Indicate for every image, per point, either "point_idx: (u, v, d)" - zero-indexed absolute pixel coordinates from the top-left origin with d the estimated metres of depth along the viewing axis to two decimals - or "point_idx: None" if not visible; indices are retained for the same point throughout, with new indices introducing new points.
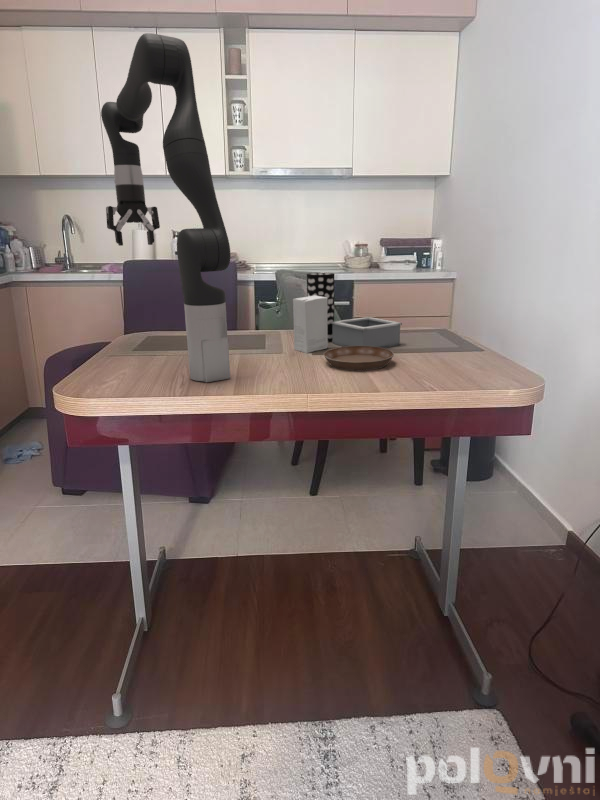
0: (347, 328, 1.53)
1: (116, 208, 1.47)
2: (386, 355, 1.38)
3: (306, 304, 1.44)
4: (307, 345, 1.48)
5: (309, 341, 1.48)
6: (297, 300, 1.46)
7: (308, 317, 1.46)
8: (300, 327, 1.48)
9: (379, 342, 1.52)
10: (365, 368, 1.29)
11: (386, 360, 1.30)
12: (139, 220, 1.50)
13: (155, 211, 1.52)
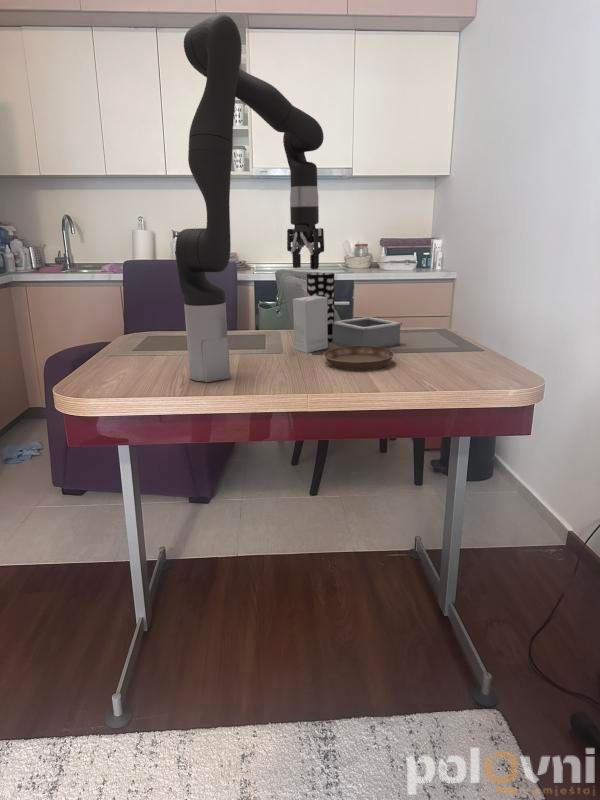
0: (347, 328, 1.53)
1: None
2: (386, 355, 1.38)
3: (306, 304, 1.44)
4: (307, 345, 1.48)
5: (309, 341, 1.48)
6: (297, 300, 1.46)
7: (308, 317, 1.46)
8: (300, 327, 1.48)
9: (379, 342, 1.52)
10: (365, 368, 1.29)
11: (386, 360, 1.30)
12: None
13: None
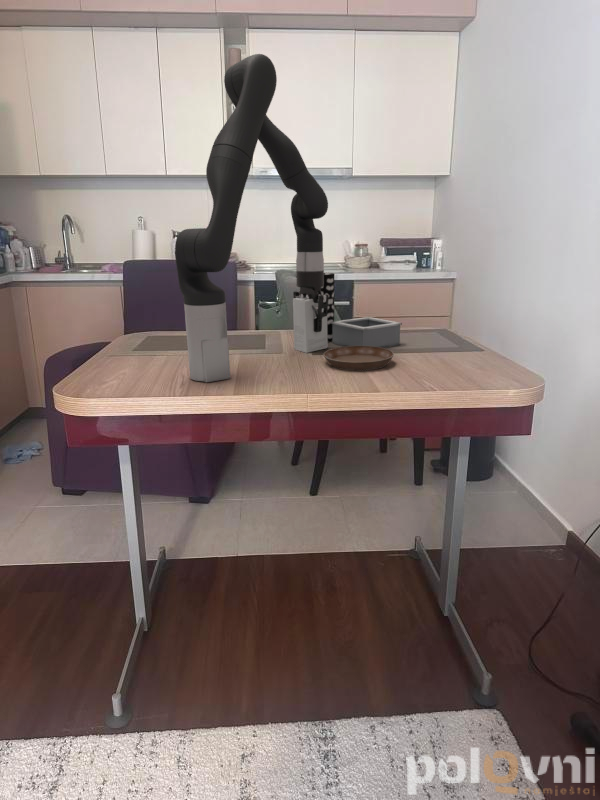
0: (347, 328, 1.53)
1: None
2: (386, 355, 1.38)
3: (306, 304, 1.44)
4: (307, 345, 1.48)
5: (309, 341, 1.48)
6: (297, 300, 1.46)
7: (308, 317, 1.46)
8: (300, 327, 1.48)
9: (379, 342, 1.52)
10: (365, 368, 1.29)
11: (386, 360, 1.30)
12: None
13: None
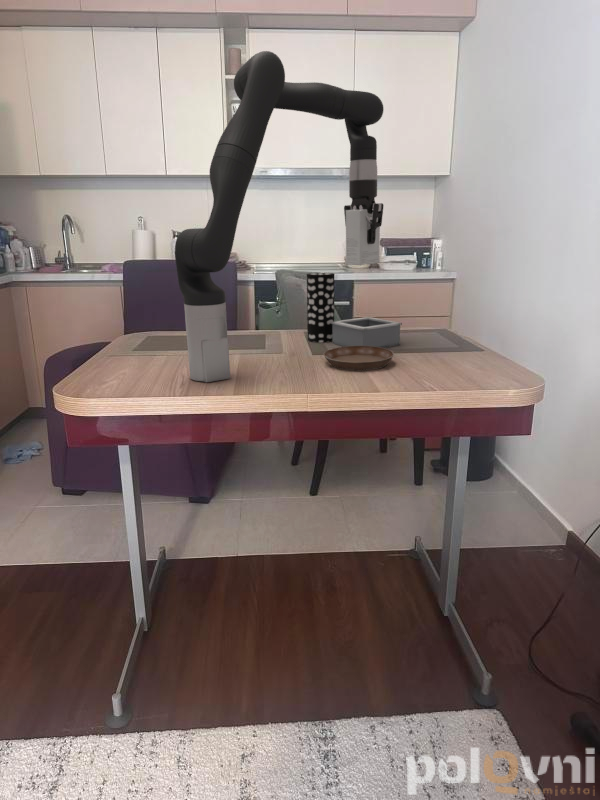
0: (347, 328, 1.53)
1: None
2: (386, 355, 1.38)
3: (360, 213, 1.43)
4: (360, 257, 1.47)
5: (363, 253, 1.47)
6: (350, 211, 1.45)
7: (362, 228, 1.45)
8: (353, 239, 1.47)
9: (379, 342, 1.52)
10: (365, 368, 1.29)
11: (386, 360, 1.30)
12: None
13: None
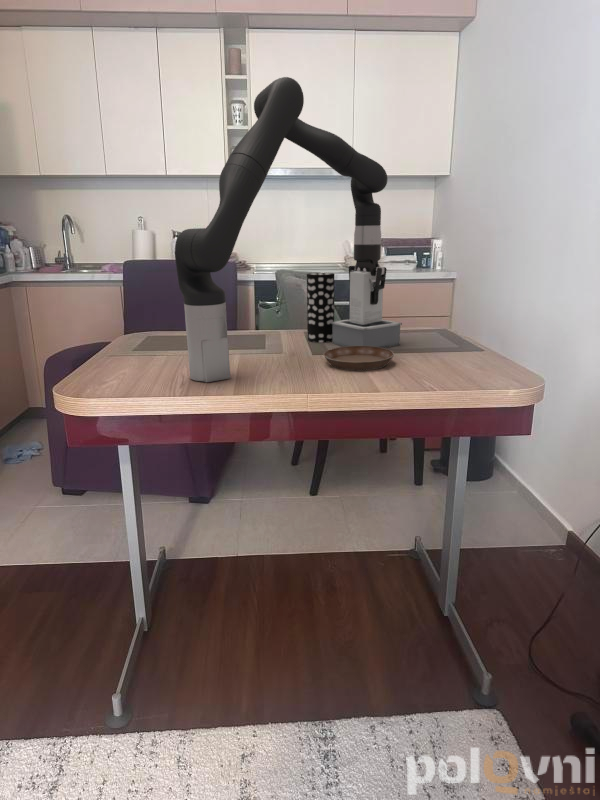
0: (347, 328, 1.53)
1: None
2: (386, 355, 1.38)
3: (364, 276, 1.48)
4: (364, 317, 1.52)
5: (366, 313, 1.52)
6: (355, 273, 1.50)
7: (366, 290, 1.50)
8: (357, 300, 1.52)
9: (379, 342, 1.52)
10: (365, 368, 1.29)
11: (386, 360, 1.30)
12: None
13: None
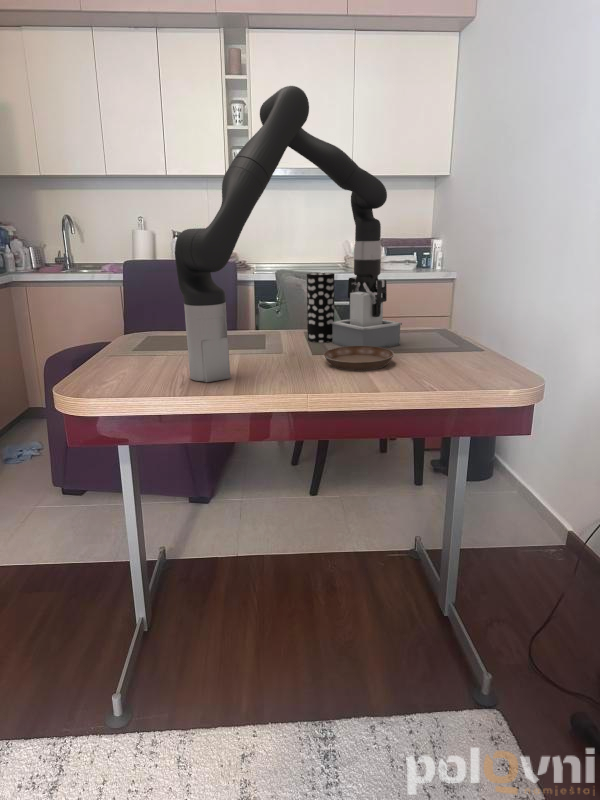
0: (347, 328, 1.53)
1: None
2: (386, 355, 1.38)
3: (364, 298, 1.50)
4: None
5: None
6: (354, 294, 1.52)
7: (365, 311, 1.51)
8: (357, 320, 1.53)
9: (379, 342, 1.52)
10: (365, 368, 1.29)
11: (386, 360, 1.30)
12: None
13: None
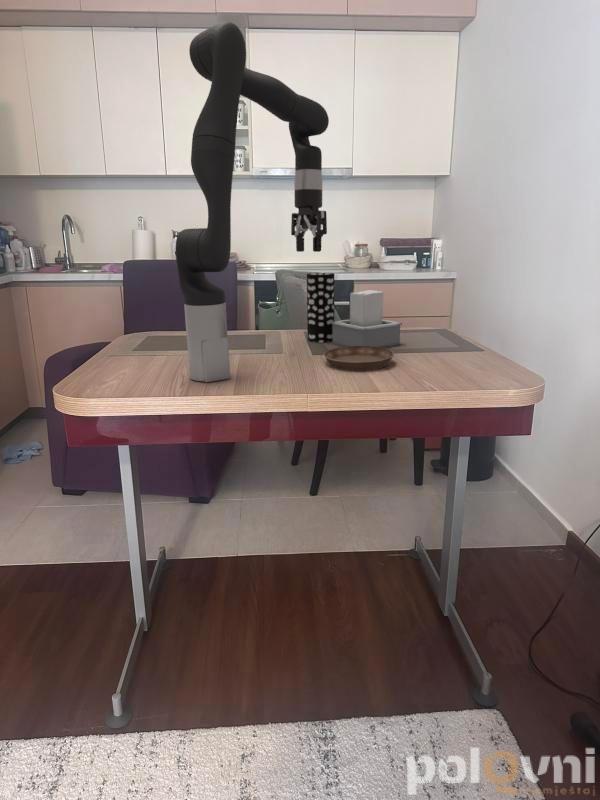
0: (347, 328, 1.53)
1: None
2: (386, 355, 1.38)
3: (364, 298, 1.50)
4: None
5: None
6: (354, 294, 1.52)
7: (365, 311, 1.51)
8: (357, 320, 1.53)
9: (379, 342, 1.52)
10: (365, 368, 1.29)
11: (386, 360, 1.30)
12: None
13: None
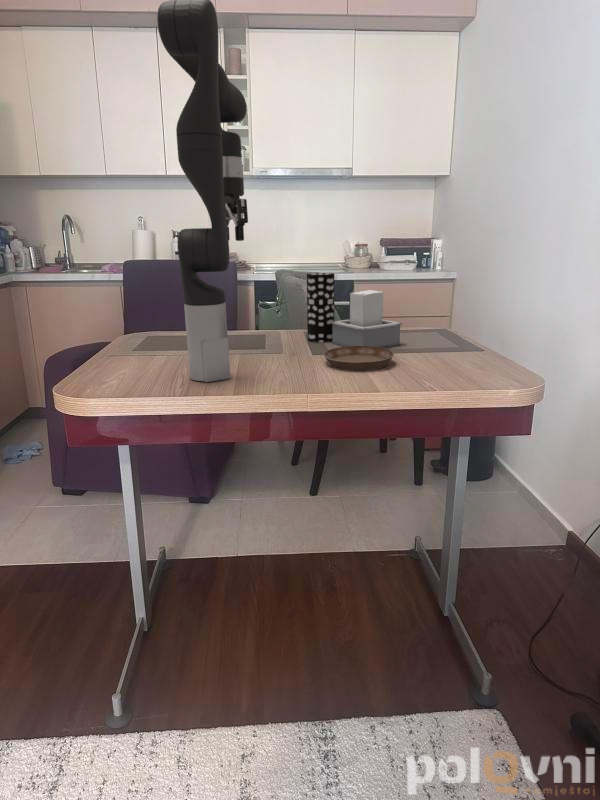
0: (347, 328, 1.53)
1: None
2: (386, 355, 1.38)
3: (364, 298, 1.50)
4: None
5: None
6: (354, 294, 1.52)
7: (365, 311, 1.51)
8: (357, 320, 1.53)
9: (379, 342, 1.52)
10: (365, 368, 1.29)
11: (386, 360, 1.30)
12: None
13: None
